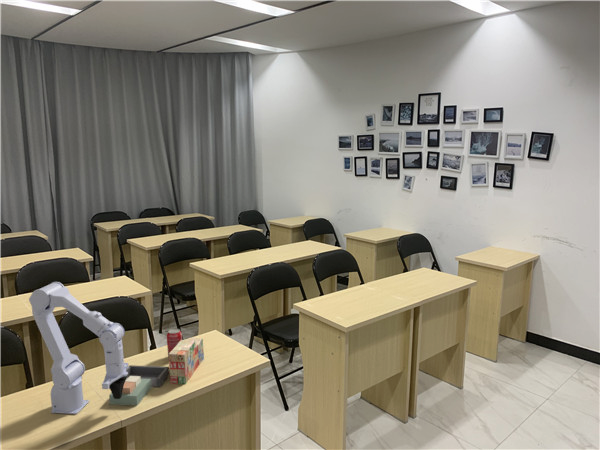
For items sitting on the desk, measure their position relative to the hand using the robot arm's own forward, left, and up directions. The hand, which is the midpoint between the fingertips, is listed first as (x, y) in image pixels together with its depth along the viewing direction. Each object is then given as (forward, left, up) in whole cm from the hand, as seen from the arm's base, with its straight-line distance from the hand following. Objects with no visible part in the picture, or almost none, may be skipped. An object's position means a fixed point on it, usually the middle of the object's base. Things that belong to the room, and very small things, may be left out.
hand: (117, 397), depth 155 cm
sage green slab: (0, +10, -5) cm, 11 cm away
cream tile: (0, +12, -1) cm, 12 cm away
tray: (0, +21, -5) cm, 21 cm away
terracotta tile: (0, +7, -1) cm, 7 cm away
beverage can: (+5, +41, -5) cm, 41 cm away
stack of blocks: (+14, +30, -5) cm, 33 cm away
